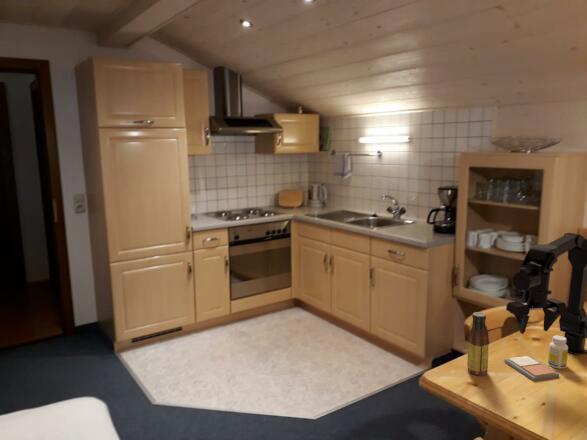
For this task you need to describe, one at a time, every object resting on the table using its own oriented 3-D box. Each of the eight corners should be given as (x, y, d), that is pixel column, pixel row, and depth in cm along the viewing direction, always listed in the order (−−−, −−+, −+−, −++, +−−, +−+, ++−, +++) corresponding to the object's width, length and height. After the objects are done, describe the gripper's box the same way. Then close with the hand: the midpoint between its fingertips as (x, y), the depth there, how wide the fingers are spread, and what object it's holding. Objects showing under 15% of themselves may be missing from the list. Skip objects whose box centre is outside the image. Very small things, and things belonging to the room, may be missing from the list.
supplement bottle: (564, 363, 159) (567, 335, 157) (567, 370, 154) (570, 342, 152) (546, 360, 160) (549, 333, 159) (549, 367, 155) (552, 339, 154)
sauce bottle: (484, 367, 155) (488, 310, 152) (489, 377, 149) (494, 318, 146) (463, 366, 156) (467, 310, 152) (468, 376, 150) (472, 317, 146)
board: (528, 358, 162) (529, 354, 162) (559, 376, 149) (559, 372, 149) (504, 361, 159) (504, 358, 159) (532, 380, 147) (533, 376, 147)
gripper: (543, 277, 159) (538, 320, 162) (496, 280, 155) (492, 325, 157) (570, 286, 149) (564, 333, 151) (521, 290, 144) (516, 338, 146)
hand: (533, 332), depth 152 cm, fingers open, 9 cm apart
